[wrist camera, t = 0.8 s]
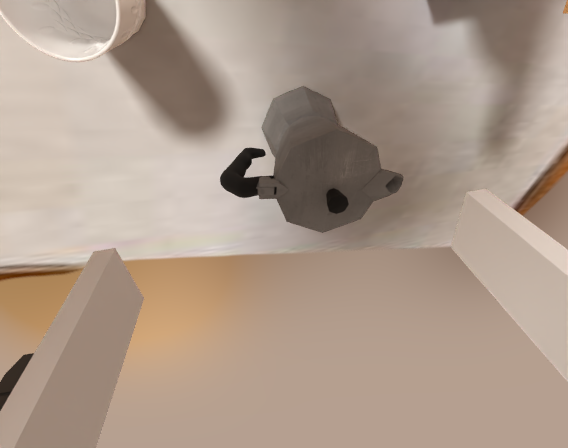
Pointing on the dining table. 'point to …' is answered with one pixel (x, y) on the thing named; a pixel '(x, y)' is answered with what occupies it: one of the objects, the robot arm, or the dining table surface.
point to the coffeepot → (313, 165)
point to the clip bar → (566, 8)
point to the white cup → (74, 25)
